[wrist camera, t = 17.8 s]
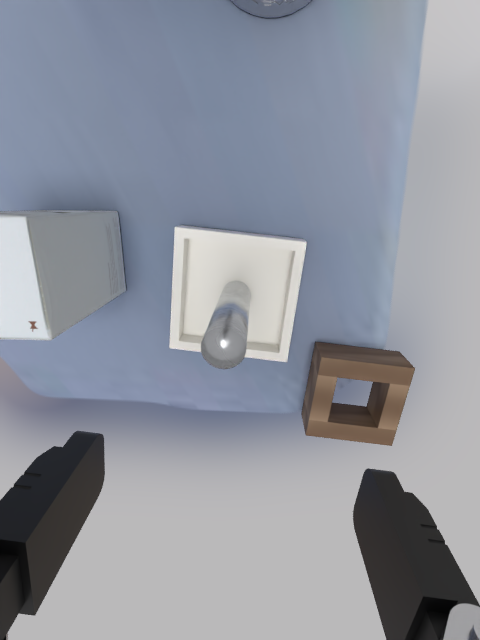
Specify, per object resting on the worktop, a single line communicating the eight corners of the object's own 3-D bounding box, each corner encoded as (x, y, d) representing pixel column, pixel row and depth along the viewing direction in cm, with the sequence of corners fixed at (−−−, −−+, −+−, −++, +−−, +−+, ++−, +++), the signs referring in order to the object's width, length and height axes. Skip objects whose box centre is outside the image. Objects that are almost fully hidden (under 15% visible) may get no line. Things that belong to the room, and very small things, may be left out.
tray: (181, 225, 30) (174, 227, 28) (303, 238, 30) (306, 242, 28) (175, 337, 34) (169, 348, 31) (284, 350, 34) (286, 362, 31)
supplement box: (120, 209, 30) (30, 214, 18) (127, 292, 33) (52, 345, 21) (36, 207, 31) (-106, 212, 19) (50, 290, 33) (-69, 341, 21)
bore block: (315, 341, 33) (321, 357, 30) (399, 351, 33) (415, 368, 30) (301, 413, 36) (305, 435, 33) (379, 423, 36) (391, 445, 32)
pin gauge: (222, 278, 31) (202, 324, 20) (252, 282, 31) (248, 330, 20) (220, 307, 32) (199, 366, 20) (248, 310, 32) (243, 371, 20)
